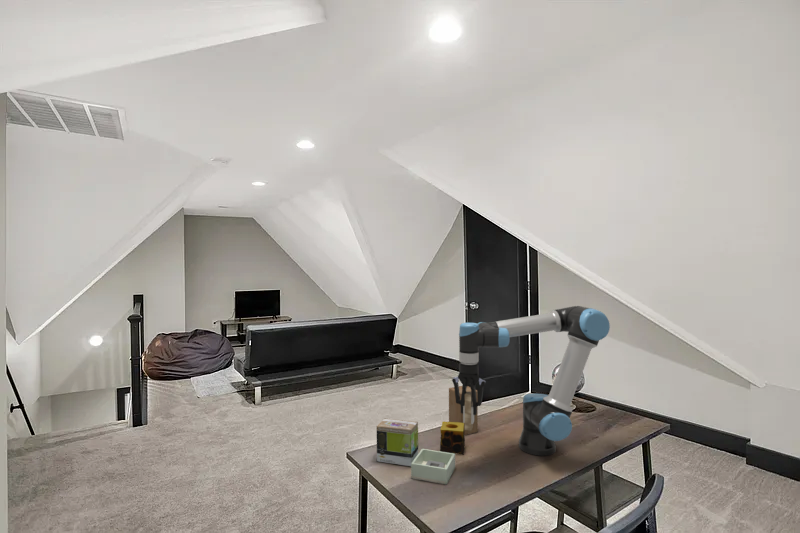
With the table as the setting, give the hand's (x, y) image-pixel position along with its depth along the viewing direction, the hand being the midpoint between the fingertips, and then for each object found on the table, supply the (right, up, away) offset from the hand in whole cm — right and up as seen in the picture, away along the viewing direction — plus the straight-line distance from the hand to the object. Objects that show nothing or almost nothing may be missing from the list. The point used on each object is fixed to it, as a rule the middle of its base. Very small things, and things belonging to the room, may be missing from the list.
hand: (468, 422), depth 170 cm
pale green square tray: (-14, -18, -5) cm, 23 cm away
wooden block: (+3, -17, +36) cm, 40 cm away
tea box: (-28, -18, +7) cm, 34 cm away
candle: (-4, -18, +16) cm, 24 cm away
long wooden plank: (0, -3, 0) cm, 3 cm away
